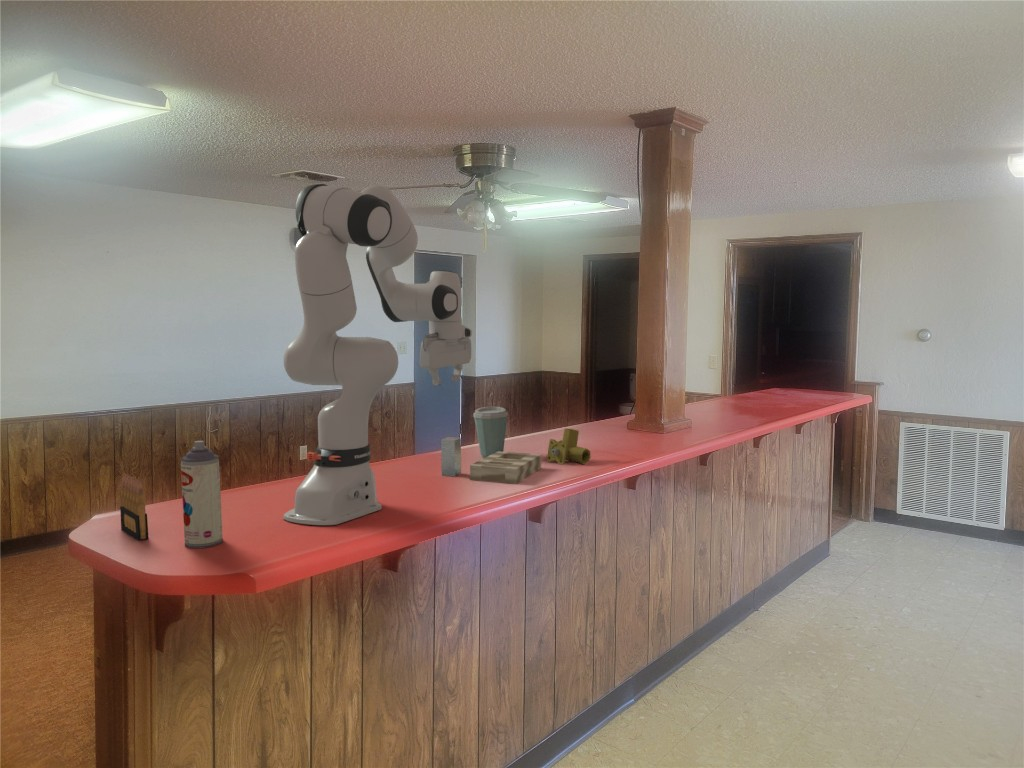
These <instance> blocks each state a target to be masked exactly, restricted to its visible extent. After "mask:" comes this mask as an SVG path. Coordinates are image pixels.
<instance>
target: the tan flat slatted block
mask: <svg viewBox="0 0 1024 768" xmlns="http://www.w3.org/2000/svg"><path fill="white" fill-rule="evenodd" d="M541 469H542V454H540V453H539V454H537V453H528V452H527V453H525V452H512V451H511V452H510V451H503V452H500V451H498V452H496V453H494V454H492V455H490V456H488V457H486V458H481V459H480V460H478V461H476V462H474V463H471V464H470V465H469V480H470V481H477V482H488V483H489V482H490V483H491V482H492V483H499V484H500V483H501V484H502V483H503V484H512V485H513V484H514V485H517V484H519V483H520V482H522V481H524V480H525V479H526V478H528V477H530V476H531V475H533V474H534V473H536V472H538V471H540V470H541Z"/></svg>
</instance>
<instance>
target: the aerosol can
mask: <svg viewBox="0 0 1024 768" xmlns="http://www.w3.org/2000/svg"><path fill="white" fill-rule="evenodd" d="M180 470H181V471H180V475H181V494H182V495H181V496H182V515H183V530H184V531H183V535H184V547H186V548H189V549H204V548H205V549H206V548H211V547H214V546H218V545H219V544H222V543H223V540H224V539H223V519H222V518H223V517H222V497H221V496H222V495H221V493H222V492H221V474H220V473H221V471H220V470H221V469H220V459H219V455H217V454H215V453H214V452H213V450H211V449H209V447H207V446H206V445H205V441H204V440H195V441H194V445H193V447H192V448H191V449H190V450H189V451H188V452H187V453H186V454H185V455H184V456H183V457H181V462H180Z"/></svg>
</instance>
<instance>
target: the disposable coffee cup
mask: <svg viewBox="0 0 1024 768" xmlns="http://www.w3.org/2000/svg"><path fill="white" fill-rule="evenodd" d="M508 413H509V412H508V411H507V410H506V408H504V407H501V406H484V407H480V408H479V407H478V408H477V409H475V410H474V412H473V416H472V417H473V419H474V424H475V430H476V435H477V436H476V437H477V440H478V445H479V453H480V455H481V458H482V459H484V458H486V457H488V456H490V455H492V454H494V453H496V452H498V451H500V452H504V450H505V442H506V431H507V430H506V429H507V421H508V416H509V414H508Z"/></svg>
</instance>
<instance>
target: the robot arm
mask: <svg viewBox="0 0 1024 768" xmlns="http://www.w3.org/2000/svg"><path fill="white" fill-rule="evenodd" d="M295 218H296V219H295V220H296V222H297V225H296V226H297V229H298V232H299V234H300V235H301V236H302V237H300V239H298V241H297V242H296V245H295V247H294V248H295V249H294V260H295V262H294V264H295V274H296V280H297V285H298V289H299V295H300V300H301V306H302V310H303V311H302V312H303V324H302V325H303V326H302V329H301V332H300V333H299V334H298V336H296V338H294V340H292V341H291V342H290V343H289V344H288V345H287V347H286V348H285V349H286V350H285V351H284V354H283V366H284V369H285V370H284V371H285V373H286V374H287V376H288V377H289V378H290V380H291V381H293V382H297V383H301V384H304V385H305V384H306V385H310V386H339V387H340V386H341V389H342V391H341V395H340V397H338V398H336V399H335V400H333V401H331V402H330V403H327V404H326V405H324V406H323V407H322V408H321V409H320V411H319V413H318V414H317V415H318V416H317V435H318V436H317V438H318V445H317V447H316V451H315V452H312V451H308V452H307V454H306V457H305V458H306V460H307V461H308V462H313V464H314V465H313V467H312V468H311V470H310V471H309V472H308V474H307V475H306V476H305V478H304V479H303V480H302V482H301V483H300V484H299V486H298V487H297V488H296V491H295V494H294V495H295V496H294V508H291V509H290V510H288V511H287V512H285V513H283V518H282V519H283V520H285V521H287V522H290V523H294V524H295V523H296V524H302V525H309V526H310V525H312V526H335V525H336V526H337V525H339V524H343V523H345V522H349V521H351V520H354V519H358V518H360V517H363V516H366V515H369V514H371V513H374V512H377V511H381V510H382V504H381V503H380V502H378V496H377V486H376V485H377V484H376V477H375V473H374V471H373V469H372V468H371V464H370V460H371V451H372V450H371V446H370V444H369V436H368V435H369V416H370V415H369V414H370V411H371V410H370V409H371V405H372V404H373V401H374V399H375V397H376V396H377V394H378V393H379V392H380V390H381V389H382V388H383V387H384V386H386V385H387V384H388V383H389V382H390V381H392V379H394V377H395V375H396V374H397V371H398V367H399V356H398V352H397V350H396V348H395V346H394V345H393V344H392V343H391V342H390V341H389V340H385V339H381V338H375V337H371V336H369V337H368V336H355V337H354V336H339V335H338V334H337V332H338V331H340V330H342V329H345V328H346V327H347V326H349V325H350V324H351V323H352V322H353V321H354V319H355V317H356V314H357V309H358V307H357V303H356V296H355V291H354V285H353V280H352V275H351V270H350V267H349V263H348V260H347V251H348V246H349V244H350V245H357V246H359V247H366V251H365V259H366V263H367V267H368V270H369V273H370V275H371V278H372V280H373V282H374V285H375V288H376V290H377V292H378V294H379V298H380V302H381V307H382V311H383V312H384V314H385V316H386V317H387V318H388V319H389V320H390V321H392V322H393V323H403V322H428V333H426V334H425V336H423V338H422V340H421V344H420V350H419V351H420V352H419V366H420V369H422V370H428V372H429V373H428V374H429V376H430V377H431V379H432V380H431V381H432V382H431V384H432V386H440V385H441V384H442V382H441V381H442V379H441V378H440V377H439V373H440V372H439V371H440V369H442V368H448V367H449V368H450V367H453V374H451V381H452V382H460V380H461V373H462V370H463V365H465V364H470V363H471V362H470V361H471V360H472V340H471V338H472V336H473V332H472V330H471V328H469V327H467V326H465V325H464V324H463V318H462V314H461V309H462V306H463V305H462V303H463V302H462V287H461V281H460V277H459V275H458V273H456V272H455V271H450V270H445V269H443V270H442V269H439V270H433V271H432V272H430V274H429V275H430V276H429V281H427V282H426V283H406V282H401V281H398V280H397V278H396V275H395V272H394V269H393V268H394V267H398V266H401V265H402V264H405V263H406V262H407V261H409V259H410V258H411V257H412V256H413V255H414V254H415V252H416V249H417V246H418V241H419V237H418V233H417V229H416V227H415V225H414V223H413V221H412V219H411V218H410V216H409V214H408V213H407V210H406V209H405V208H404V205H402V203H401V202H400V200H399V199H398V198H397V197H396V196H395V194H394V193H393V192H392V191H391V190H390V189H389V188H387V187H386V186H383V185H379V184H378V185H370V186H367V187H365V188H363V189H362V190H361V191H357V190H353V189H351V188H348V187H344V186H337V185H336V186H335V185H327V184H325V183H318V184H317V183H316V184H310V185H308V186H305V187H304V188H302V190H300V192H299V194H298V196H297V199H296V203H295Z"/></svg>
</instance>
